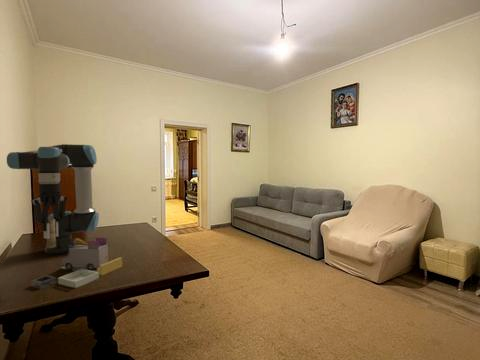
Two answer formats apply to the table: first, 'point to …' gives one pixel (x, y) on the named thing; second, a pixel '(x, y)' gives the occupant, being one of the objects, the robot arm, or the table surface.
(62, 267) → the mat
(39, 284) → the socket
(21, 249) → the table surface
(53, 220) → the pin
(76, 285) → the tray
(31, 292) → the table surface
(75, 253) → the toy vehicle
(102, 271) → the block
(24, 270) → the table surface
